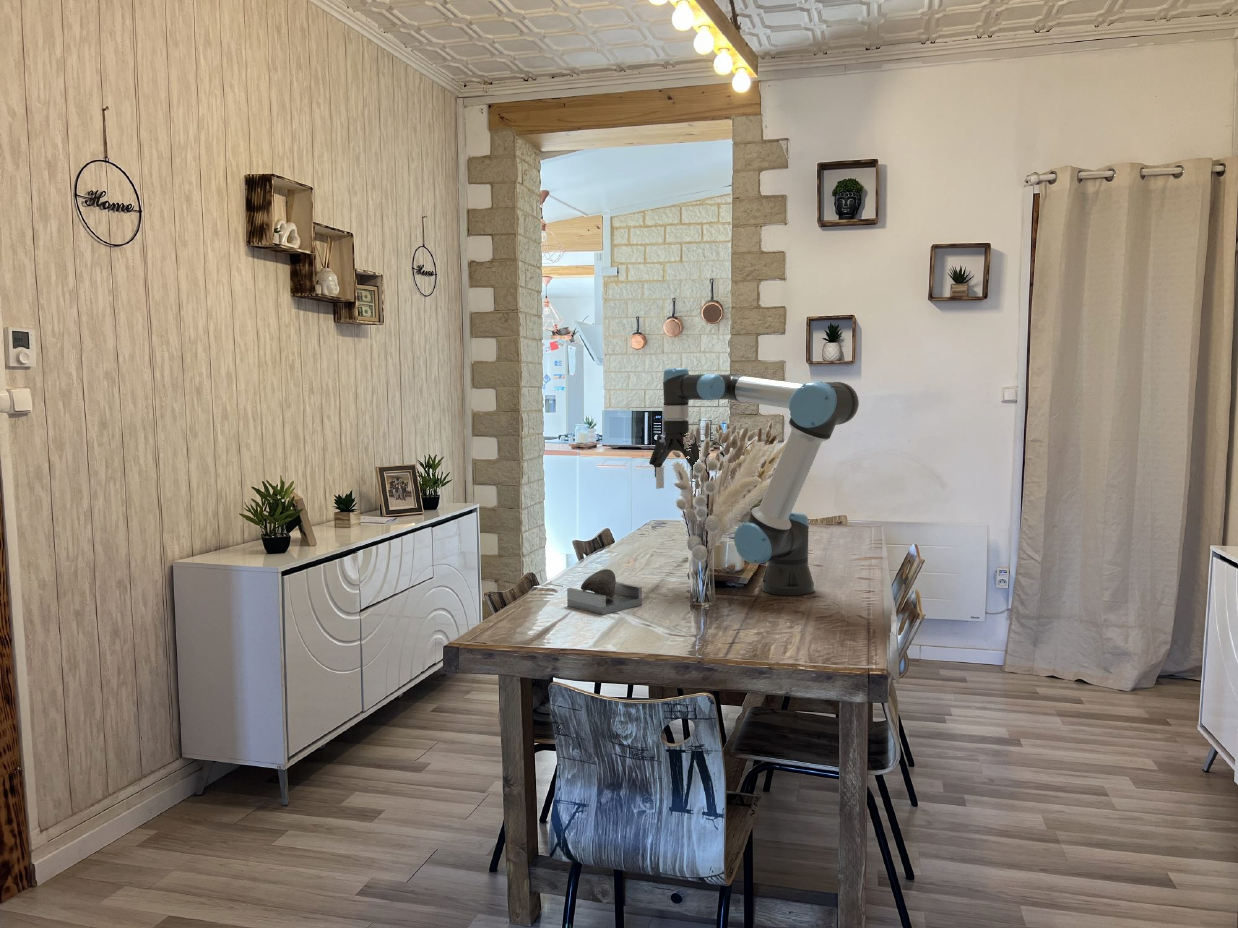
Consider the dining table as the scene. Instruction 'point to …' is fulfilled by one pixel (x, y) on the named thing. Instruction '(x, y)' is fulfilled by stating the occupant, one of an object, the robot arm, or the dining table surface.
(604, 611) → the lip bracket
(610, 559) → the dining table surface
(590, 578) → the stone
